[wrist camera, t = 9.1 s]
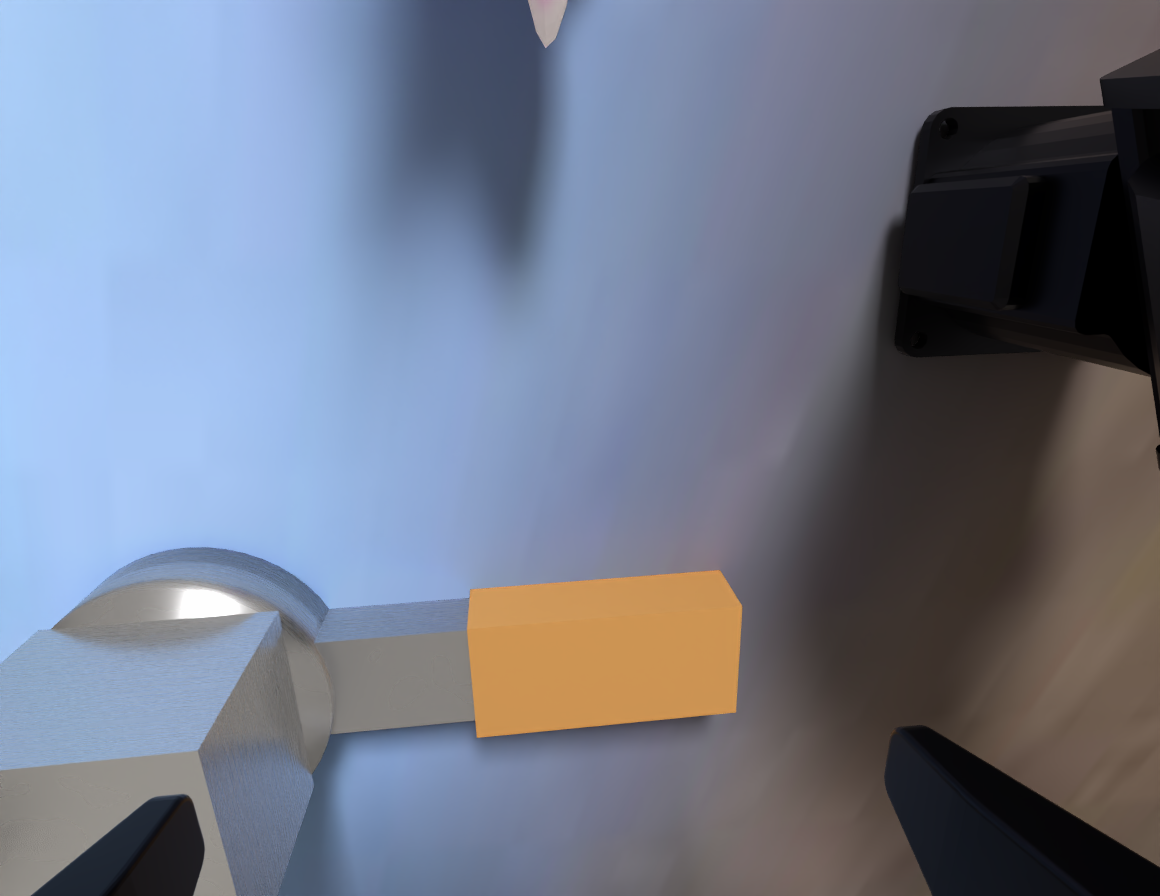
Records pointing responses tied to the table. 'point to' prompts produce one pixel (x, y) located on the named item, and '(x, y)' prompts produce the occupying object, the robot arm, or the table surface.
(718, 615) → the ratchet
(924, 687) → the table surface
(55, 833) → the brushed metal cube
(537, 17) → the lily
